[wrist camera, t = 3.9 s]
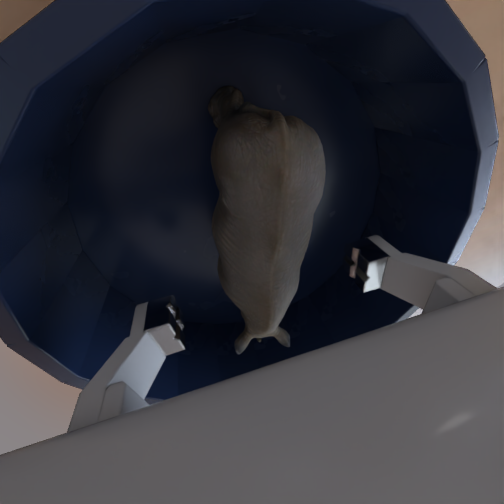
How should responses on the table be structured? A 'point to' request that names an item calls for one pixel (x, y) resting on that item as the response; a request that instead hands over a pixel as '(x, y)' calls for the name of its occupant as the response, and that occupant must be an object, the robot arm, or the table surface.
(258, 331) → the rhino figurine
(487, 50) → the table surface
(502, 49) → the table surface
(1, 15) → the table surface
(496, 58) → the table surface
